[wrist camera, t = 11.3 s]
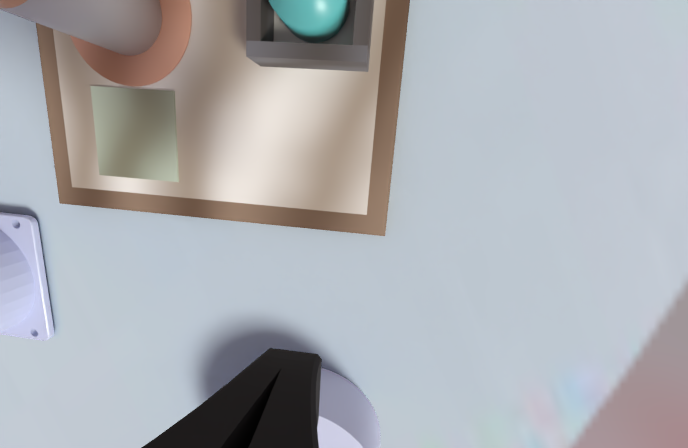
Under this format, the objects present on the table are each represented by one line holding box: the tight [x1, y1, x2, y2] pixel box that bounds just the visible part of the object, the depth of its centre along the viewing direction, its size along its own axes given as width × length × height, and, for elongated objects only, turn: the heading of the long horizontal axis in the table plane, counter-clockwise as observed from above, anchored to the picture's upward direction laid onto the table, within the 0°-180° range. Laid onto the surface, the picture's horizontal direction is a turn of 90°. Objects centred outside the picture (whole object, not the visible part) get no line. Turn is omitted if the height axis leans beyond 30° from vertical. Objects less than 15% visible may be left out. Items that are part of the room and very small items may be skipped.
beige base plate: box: [36, 0, 410, 236], centre depth 15 cm, size 18×14×2 cm
